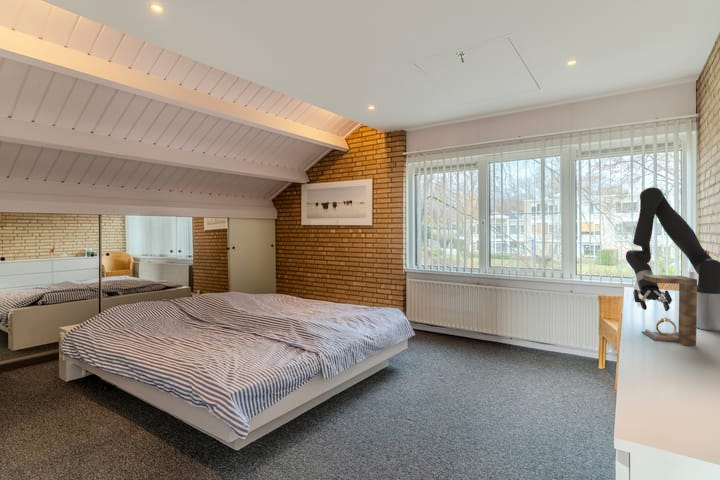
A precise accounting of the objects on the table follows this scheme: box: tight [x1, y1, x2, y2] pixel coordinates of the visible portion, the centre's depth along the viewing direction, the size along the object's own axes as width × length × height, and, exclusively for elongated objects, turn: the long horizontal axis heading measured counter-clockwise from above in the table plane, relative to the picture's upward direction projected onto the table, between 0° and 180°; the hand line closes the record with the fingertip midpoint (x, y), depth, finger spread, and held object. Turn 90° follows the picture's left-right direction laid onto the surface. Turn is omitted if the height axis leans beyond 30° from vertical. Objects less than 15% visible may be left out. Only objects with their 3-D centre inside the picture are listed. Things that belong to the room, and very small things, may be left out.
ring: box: [655, 317, 677, 336], centre depth 170 cm, size 7×3×8 cm, turn 49°
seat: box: [641, 328, 679, 343], centre depth 170 cm, size 14×14×2 cm
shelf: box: [643, 274, 698, 347], centre depth 165 cm, size 14×14×27 cm
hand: (656, 309), depth 181 cm, fingers open, 8 cm apart
